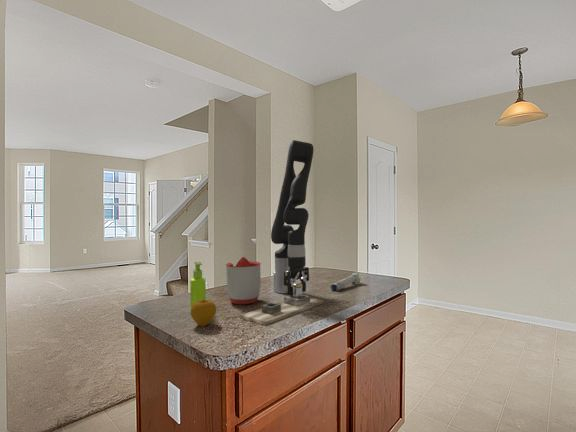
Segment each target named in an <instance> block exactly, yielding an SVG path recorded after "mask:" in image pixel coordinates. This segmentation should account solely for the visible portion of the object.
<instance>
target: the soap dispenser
mask: <svg viewBox="0 0 576 432" xmlns="http://www.w3.org/2000/svg"><path fill="white" fill-rule="evenodd" d="M194 265H195V268H194V270H193V272H192V273H193V275H192V278H190V280H189V286H190V288H189V289H190V291H189V292H190V309H191V308H192V306H193V305H194V303H195V302H197V301H200V300H207V297H206V294H207V293H206V278H205V277H203V270H202V269H200V268H201V266H203V264H202V262H201V261H195V262H194Z"/></svg>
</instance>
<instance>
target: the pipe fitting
mask: <svg viewBox="0 0 576 432" xmlns="http://www.w3.org/2000/svg"><path fill="white" fill-rule="evenodd" d="M302 287H303V284H302V282H294V284H293V296H292V298H295V299H300V298H302V295H303V292H302Z"/></svg>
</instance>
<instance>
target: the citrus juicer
mask: <svg viewBox="0 0 576 432" xmlns="http://www.w3.org/2000/svg"><path fill="white" fill-rule="evenodd" d="M261 265H262V263H261V261H259V262H258V261H249V260H248V259H247V258H246V257H245V256H242V257H241V258H240V259H239V260H238V262H237V263H236V264H235V266H234V264H233V263H232V262H228V263H226V264H225V266H226V273H225V274H226V276H225V277H226V290H227V295H228V298H229V300H230V303H232V304H235V305H239V306H241V305H249V304H254V303H257V301H258V298H259V296H260V290H261V279H262V278H261Z"/></svg>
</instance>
